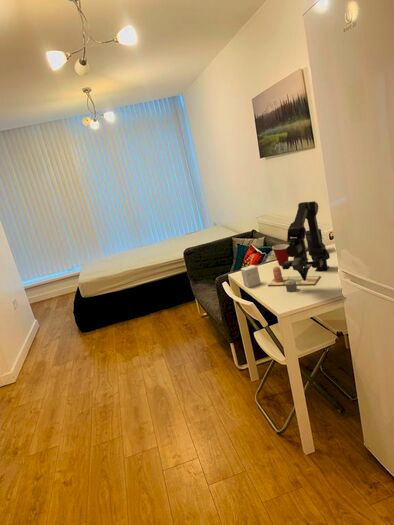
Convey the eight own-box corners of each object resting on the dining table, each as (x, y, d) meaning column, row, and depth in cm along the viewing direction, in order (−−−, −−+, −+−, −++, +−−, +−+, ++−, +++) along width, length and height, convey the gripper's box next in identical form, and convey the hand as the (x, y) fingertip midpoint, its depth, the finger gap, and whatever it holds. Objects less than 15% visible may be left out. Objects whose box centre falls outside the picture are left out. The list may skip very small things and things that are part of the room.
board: (275, 278, 220) (275, 277, 220) (320, 276, 206) (320, 275, 206) (267, 286, 210) (267, 285, 210) (314, 285, 196) (314, 283, 196)
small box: (256, 281, 222) (252, 264, 220) (261, 283, 217) (257, 266, 215) (244, 286, 220) (240, 268, 217) (248, 288, 215) (245, 270, 212)
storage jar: (308, 252, 254) (305, 230, 251) (324, 250, 251) (321, 227, 247) (308, 256, 245) (304, 234, 242) (324, 254, 242) (320, 231, 238)
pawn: (276, 279, 216) (273, 265, 214) (284, 279, 213) (281, 265, 211) (273, 282, 212) (270, 268, 210) (281, 282, 209) (278, 268, 207)
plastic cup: (293, 265, 236) (290, 246, 233) (275, 268, 238) (272, 249, 235) (292, 260, 246) (289, 242, 243) (275, 263, 248) (271, 245, 245)
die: (289, 288, 200) (288, 281, 199) (297, 288, 198) (295, 281, 197) (286, 291, 197) (285, 284, 196) (294, 291, 194) (293, 284, 193)
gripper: (276, 257, 187) (281, 286, 191) (314, 254, 176) (319, 286, 180) (283, 250, 196) (288, 278, 199) (320, 247, 185) (325, 277, 189)
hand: (304, 280), depth 192 cm, fingers closed
